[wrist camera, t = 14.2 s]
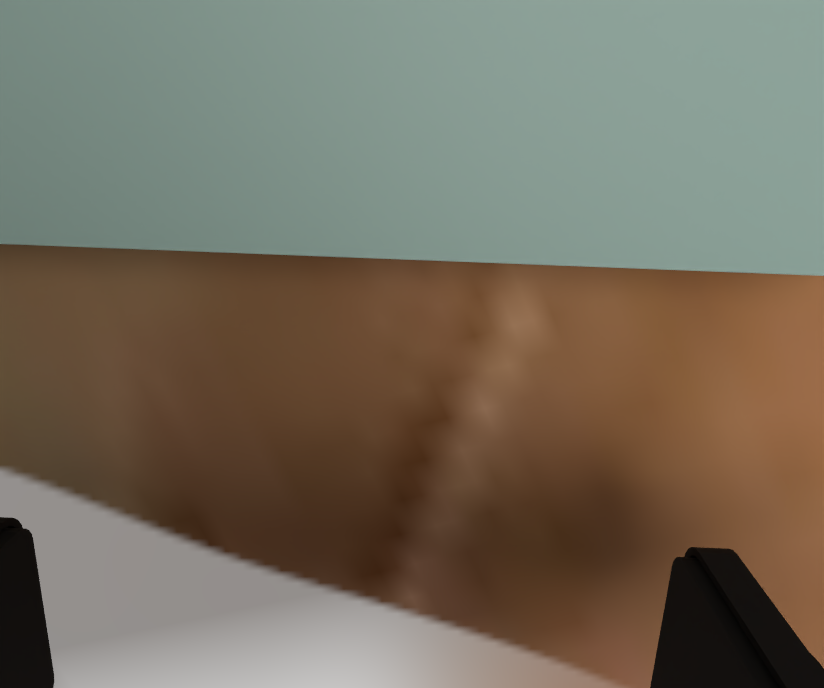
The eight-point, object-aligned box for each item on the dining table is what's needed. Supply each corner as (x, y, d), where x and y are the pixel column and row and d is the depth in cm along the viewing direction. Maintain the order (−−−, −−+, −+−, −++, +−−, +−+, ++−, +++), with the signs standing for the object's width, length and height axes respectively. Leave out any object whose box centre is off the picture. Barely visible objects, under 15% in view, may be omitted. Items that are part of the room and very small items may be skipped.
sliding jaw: (-139, 205, 10) (-325, 231, 7) (-219, -181, 8) (-486, -311, 6) (854, 243, 9) (998, 282, 7) (944, -139, 8) (1163, -253, 6)
